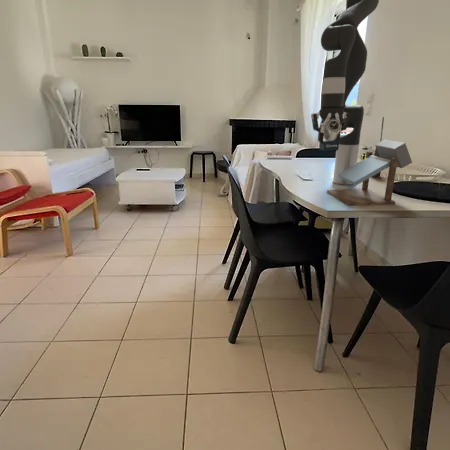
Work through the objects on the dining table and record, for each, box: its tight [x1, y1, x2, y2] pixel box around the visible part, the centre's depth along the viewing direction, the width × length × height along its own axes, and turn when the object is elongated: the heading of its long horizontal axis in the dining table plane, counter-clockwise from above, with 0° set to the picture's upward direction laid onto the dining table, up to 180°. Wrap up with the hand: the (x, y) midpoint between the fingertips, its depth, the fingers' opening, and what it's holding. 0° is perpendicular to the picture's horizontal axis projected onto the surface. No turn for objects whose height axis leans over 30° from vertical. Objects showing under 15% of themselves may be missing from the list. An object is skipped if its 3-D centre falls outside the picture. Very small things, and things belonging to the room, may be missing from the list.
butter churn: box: [372, 116, 385, 178], centre depth 157 cm, size 9×10×28 cm
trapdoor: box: [338, 139, 413, 187], centre depth 121 cm, size 21×14×8 cm
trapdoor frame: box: [326, 151, 398, 207], centre depth 122 cm, size 17×20×16 cm
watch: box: [318, 119, 341, 152], centre depth 118 cm, size 6×8×11 cm
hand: (328, 142), depth 119 cm, fingers closed on watch, 5 cm apart
